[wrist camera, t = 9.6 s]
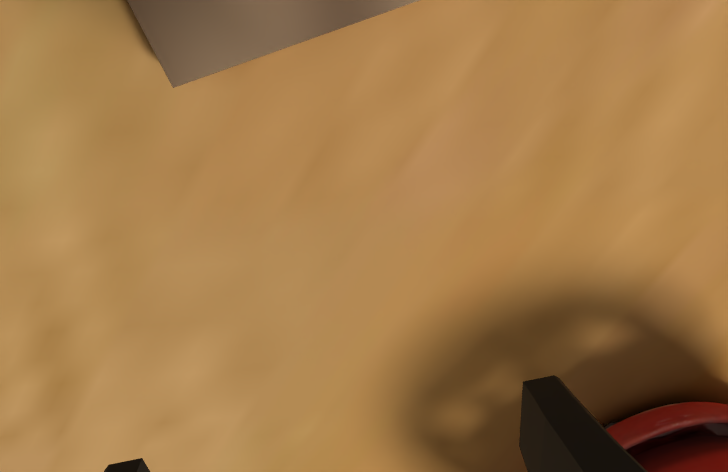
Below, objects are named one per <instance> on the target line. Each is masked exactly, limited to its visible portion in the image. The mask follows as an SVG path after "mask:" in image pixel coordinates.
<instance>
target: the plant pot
mask: <svg viewBox="0 0 728 472" xmlns="http://www.w3.org/2000/svg"><path fill="white" fill-rule="evenodd" d="M604 428H605V429H606V430H607V432H608V433H609V434H610V435H611V436H612V437H613V438H614V439H615V440H616V441H617V442H618V443H619V444H620V445H621V446H622V447H623V448H624V449H625V450H626V451H627V452H628V453H629V454H630V455H631V456H632V457H633V458H634V459H635V460H636V461H637V462H638V463H639V464H640V465H641V466H642V467H643V468H644V469H645V470H646V471H648V472H728V405H727V404H721V403H714V402H683V403H676V404H670V405H665V406H661V407H657V408H654V409H650V410H647V411H644V412H641V413H639V414H636V415H633V416H631V417H629V418H627V419H625V420H623V421H621V422H614V423H610V424H608V425H607V426H606V427H604Z"/></svg>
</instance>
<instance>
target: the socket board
mask: <svg viewBox="0 0 728 472" xmlns="http://www.w3.org/2000/svg"><path fill="white" fill-rule="evenodd" d="M127 1H128V3H129V5H130V7H131V9H132V11H133V13H134V14H135V16H136V18H137V20H138V22H139V24H140V26H141V28H142V30H143V32H144V33H145V35H146V37H147V39H148V41H149V43H150V45H151V47H152V49H153V51H154V52H155V54H156V56H157V58H158V60H159V62H160V64H161V66H162V68H163V69H164V71H165V73H166V75H167V77H168V79H169V81H170V83H171V85H172V87H173V88H174V87H177V86H180V85H183V84H185V83H188V82H191V81H194V80H197V79H199V78H202V77H205V76H208V75H211V74H214V73H216V72H219V71H222V70H225V69H228V68H230V67H233V66H236V65H239V64H242V63H244V62H247V61H250V60H253V59H256V58H259V57H261V56H264V55H267V54H270V53H273V52H275V51H278V50H281V49H284V48H287V47H289V46H292V45H295V44H298V43H301V42H304V41H306V40H309V39H312V38H315V37H318V36H320V35H323V34H326V33H329V32H332V31H334V30H337V29H340V28H343V27H346V26H349V25H351V24H354V23H357V22H360V21H363V20H365V19H368V18H371V17H374V16H377V15H379V14H382V13H385V12H388V11H391V10H394V9H396V8H399V7H402V6H405V5H408V4H410V3H413V2H416V1H419V0H127Z"/></svg>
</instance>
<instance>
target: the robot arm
mask: <svg viewBox="0 0 728 472" xmlns="http://www.w3.org/2000/svg"><path fill="white" fill-rule="evenodd" d="M519 447H520V450H521V453H522V456H523V459H524V462H525V465H526V467H527V470H528V472H648V471H646V470H645V469H644V468H643V467H642V466H641V465H640V464H639V463H638V462H637V461H636V460H635V459H634V458H633V457H632V456H631V455H630V454H629V453H628V452H627V451H626V450H625V449H624V448H623V447H622V446H621V445H620V444H619V443H618V442H617V441H616V440H615V439H614V438H613V437H612V436H611V435H610V434H609V433H608V432H607V430H606V429H605V428H604V427H603V426H602V425H601V424H600V423H599V422H598V421H597V420H596V419H595V418H594V417H593V416H592V415H591V414H590V412H589V411H588V410H587V409H586V408H585V407H584V406H583V405H582V404H581V403H580V402H579V400H578V399H577V398H576V397H575V396H574V395H573V394H572V393H571V391H570V390H569V389H568V388H567V387H566V386H565V385H564V383H563V382H562V381H561V380H560V379H559V378H558V377H556V376H549V377H544V378H539V379H534V380H529V381H524V382H523V390H522V408H521V426H520V443H519ZM104 472H150V471H149V469H148V467H147V466H146V464H145V462H144V461H143V459H142V458H141V459H136V460H131V461H126V462H121V463H116V464H111V465H108V467H107V468H106V469H105V471H104Z"/></svg>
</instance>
